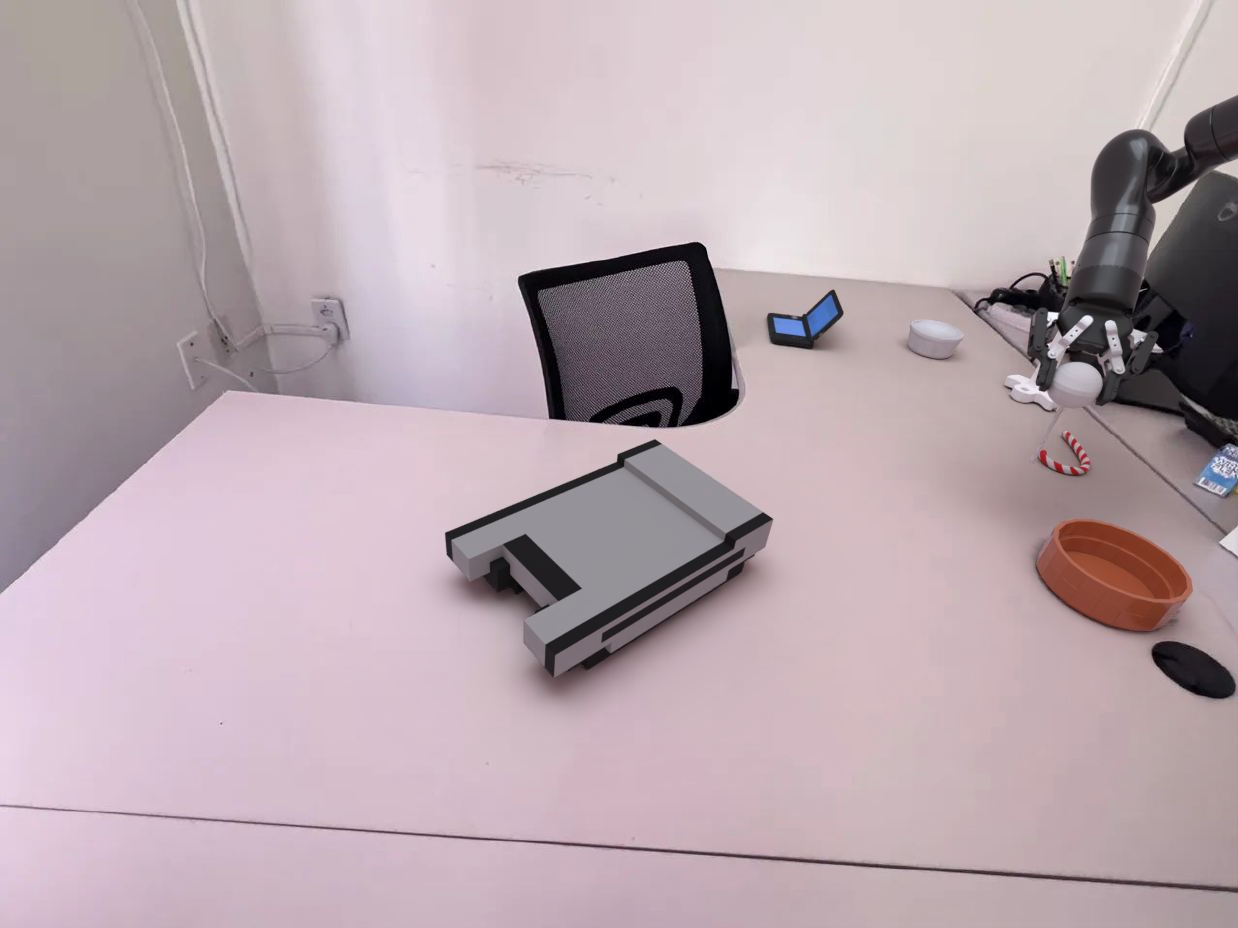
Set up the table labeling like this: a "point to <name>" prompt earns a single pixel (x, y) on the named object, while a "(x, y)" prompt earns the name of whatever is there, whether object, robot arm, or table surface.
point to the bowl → (1113, 574)
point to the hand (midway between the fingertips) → (1072, 396)
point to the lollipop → (1072, 390)
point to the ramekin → (933, 338)
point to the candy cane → (1062, 468)
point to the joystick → (1033, 385)
